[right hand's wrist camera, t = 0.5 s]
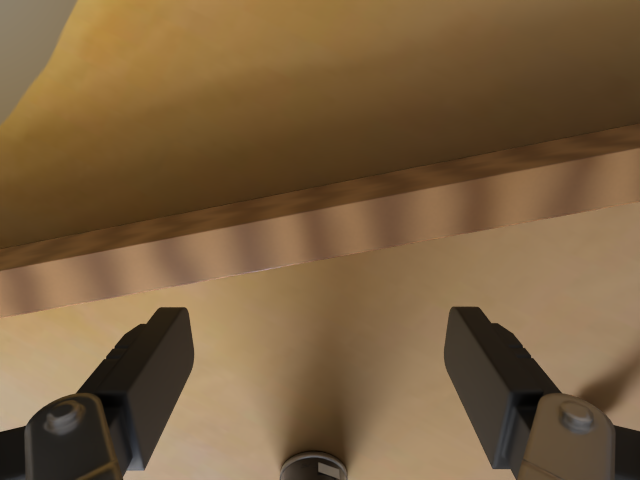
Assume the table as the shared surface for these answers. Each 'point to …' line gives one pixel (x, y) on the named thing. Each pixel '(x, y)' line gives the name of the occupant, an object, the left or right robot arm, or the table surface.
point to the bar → (326, 221)
